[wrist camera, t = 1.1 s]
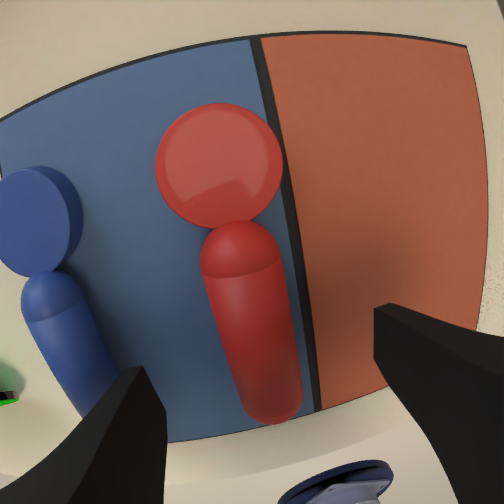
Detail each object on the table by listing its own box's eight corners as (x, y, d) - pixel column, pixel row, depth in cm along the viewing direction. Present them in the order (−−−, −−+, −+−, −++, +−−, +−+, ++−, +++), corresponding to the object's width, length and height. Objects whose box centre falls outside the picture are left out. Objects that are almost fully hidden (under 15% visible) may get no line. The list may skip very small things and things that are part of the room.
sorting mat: (469, 341, 15) (474, 345, 14) (126, 441, 13) (125, 448, 13) (461, 46, 10) (467, 44, 9) (-3, 123, 8) (-10, 123, 8)
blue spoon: (-6, 185, 8) (-45, 195, 6) (69, 151, 9) (34, 152, 6) (100, 422, 12) (90, 459, 10) (168, 415, 12) (165, 456, 10)
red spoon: (150, 124, 9) (132, 114, 7) (262, 99, 9) (279, 83, 7) (230, 404, 12) (236, 445, 10) (310, 384, 13) (328, 421, 10)
